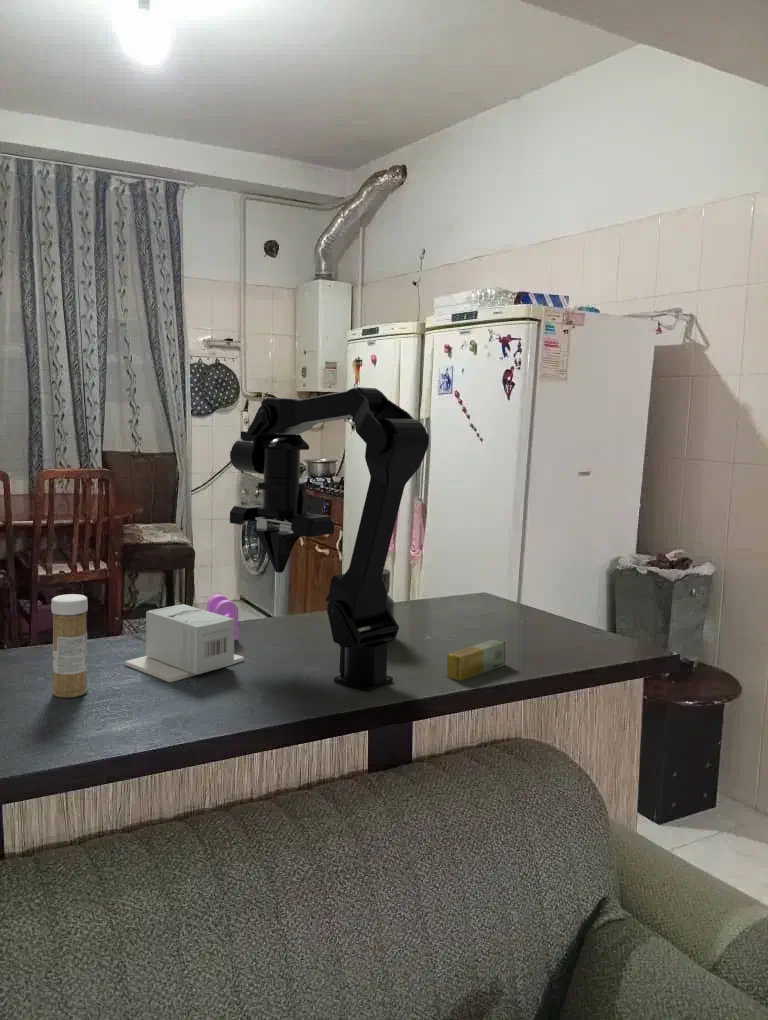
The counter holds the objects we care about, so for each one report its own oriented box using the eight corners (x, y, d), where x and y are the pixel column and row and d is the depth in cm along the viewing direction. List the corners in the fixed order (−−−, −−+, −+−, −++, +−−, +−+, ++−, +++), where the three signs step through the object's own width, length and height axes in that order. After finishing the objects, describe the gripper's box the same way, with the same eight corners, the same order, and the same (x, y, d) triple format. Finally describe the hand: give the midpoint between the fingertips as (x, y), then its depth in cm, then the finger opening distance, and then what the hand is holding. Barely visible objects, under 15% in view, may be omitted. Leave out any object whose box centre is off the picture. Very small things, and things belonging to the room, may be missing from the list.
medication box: (492, 662, 133) (493, 638, 132) (506, 665, 131) (507, 641, 130) (445, 678, 124) (446, 652, 123) (460, 682, 122) (460, 656, 122)
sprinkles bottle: (58, 687, 113) (57, 592, 111) (92, 687, 113) (91, 593, 112) (48, 699, 108) (46, 600, 107) (83, 699, 109) (82, 601, 107)
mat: (243, 660, 127) (243, 657, 127) (169, 682, 117) (170, 678, 117) (198, 645, 134) (198, 642, 134) (125, 664, 123) (125, 661, 123)
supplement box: (196, 626, 117) (143, 610, 125) (196, 676, 118) (144, 657, 126) (235, 617, 123) (183, 602, 130) (235, 664, 124) (183, 647, 131)
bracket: (227, 632, 143) (227, 593, 143) (237, 640, 139) (238, 600, 138) (152, 640, 137) (153, 599, 136) (161, 649, 132) (161, 607, 131)
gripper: (358, 479, 131) (355, 574, 133) (277, 470, 142) (275, 557, 144) (310, 483, 122) (308, 584, 124) (228, 472, 134) (226, 566, 136)
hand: (279, 572), depth 132 cm, fingers closed
